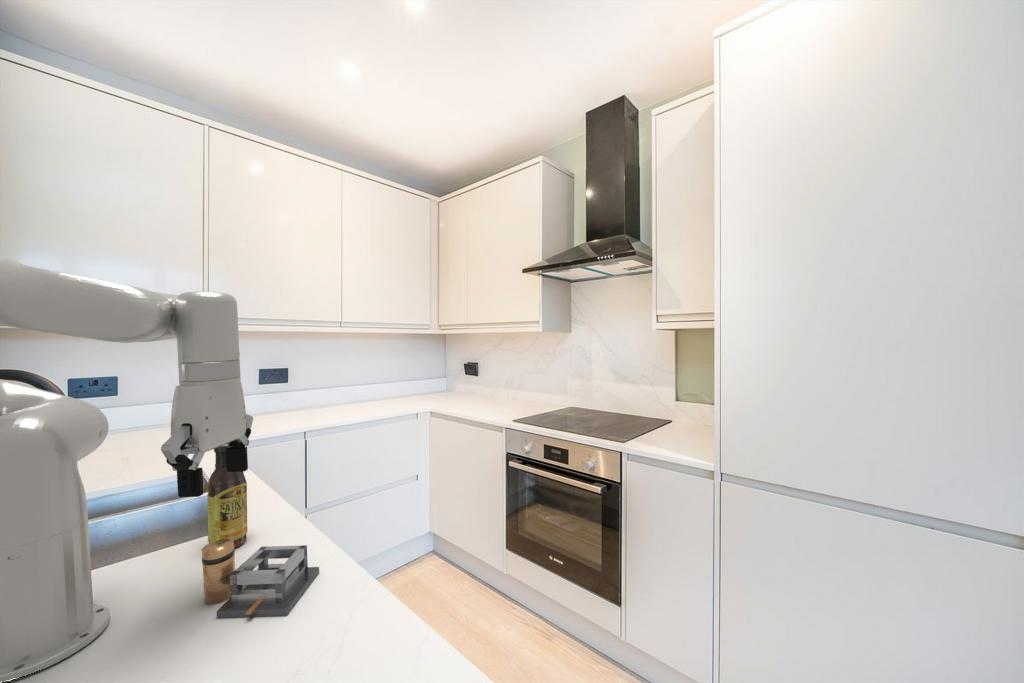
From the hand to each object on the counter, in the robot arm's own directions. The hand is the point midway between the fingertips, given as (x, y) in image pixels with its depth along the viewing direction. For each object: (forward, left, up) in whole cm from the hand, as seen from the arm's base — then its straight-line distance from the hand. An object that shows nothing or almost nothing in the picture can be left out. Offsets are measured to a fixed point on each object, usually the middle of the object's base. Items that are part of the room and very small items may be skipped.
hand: (216, 482), depth 61 cm
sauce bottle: (-9, +15, -18) cm, 25 cm away
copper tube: (0, 0, -18) cm, 18 cm away
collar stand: (+8, 0, -18) cm, 20 cm away
